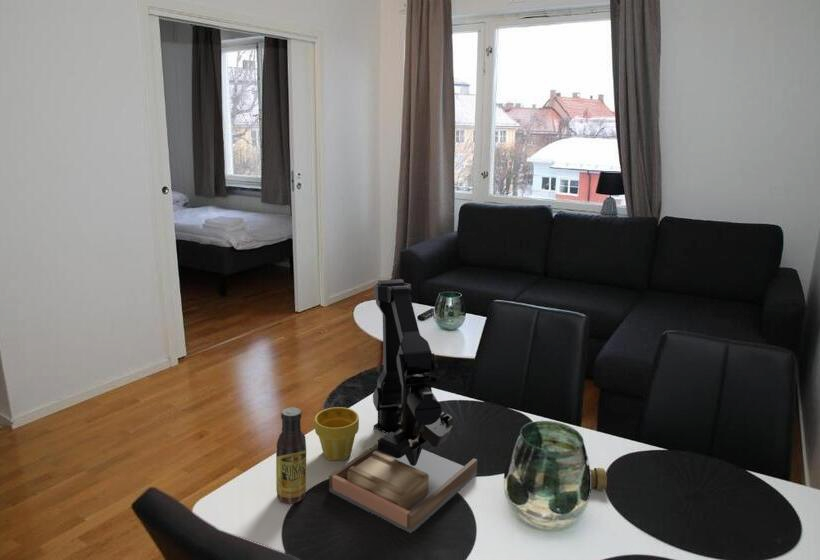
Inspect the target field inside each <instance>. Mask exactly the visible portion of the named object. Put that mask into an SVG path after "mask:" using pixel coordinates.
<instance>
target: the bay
mask: <svg viewBox="0 0 820 560" xmlns="http://www.w3.org/2000/svg"><path fill="white" fill-rule="evenodd" d="M400 432H402V429H400V430H398V431H396V432H395V434H399V433H400ZM375 451H377V452H380V453H382V454H384V455H387V456H389V457H391V458H393V459H396V460H398V461H400V462H403V463H405V464H407V465H409V466H412V465H410V463H409V461H408V459H407V457H406V455H404V456H403V457H401V458H395V457H392V456H390V455H388V454H386V453H384V452H381V451H379V450H378V443H376V444H375V445H374V446H372V447H370V448H369V449H367V450H365V451H364V452H363V453H361V454H359V455H357V457H355V458H353V459H351V460H350V461H348V462H347V463H345V464H344V465H342V466H341V467H340V468H338V469H336V470H335V471H333V472H332V473H330V474H328V491H329V492H330V493H332V494H333V495H335V496H337V497H338V498H341V499H342V500H345V501H347V502H348V503H351V504H352V505H354V506H356V507H359V508H360V509H362V510H364V511H366V512H368V513H370V512H371V513H370V514H372V515H373V514H375V515H377V516H378V517H377V516H376V517H377V518H379V517H381V518H382V519H381V518H380V519H381V520H383V519H384V520H383V521H385V520H386V521H385V522H387V521H388V522H387V523H389V522H390V523H389V524H391V523H392V524H391V525H393V524H394V525H393V526H395V527H397V528H399V529H400V528H401V530H402V529H403V531H404V530H405V531H404V532H406V531H407V533H408V532H409V533H408V534H410V533H412V532H413V531H414V532H415V531H416V530H417V529H419V528H420V527H421V524H422V525H423V524H424V523H425V522H426V521H427V520H428V519H430V516H431V517H432V516H433V515H434V514H435V513H437V511H438V510H440V509H441V508H442V507H443V506H444V505H446V504H447V502H448V501H450V500H451V499H452V498H454V496H455V495H456V494H458V493H459V491H461V490H462V489H463V488H464V487H465V486H467V484H468V483H470V482H471V481H472V480H473V479H474V478H475V477H477V476H478V475H477V473H478V459H476V458H472V459H471V460H470V461H468V462H467V463H466V464H465V465H462V464H460V463H457V462H455V461H453V460H450V459H448V458H445V457H442V456H440V455H437V454H436V453H433V452H430V451H428V450H426V449H424V448H422V450H421V453H420V456H419V459H418V461H417V464H416V465H415V466H412V467H414V468H416V469H419V470H421V471H423V472H425V473H427V474H429V482H428V494H426V495H425V496H424V497H423V498H422V499H420V500H419V501H418V502H417V503H416V504H414V505H413V506H412V507H411V508H410V509H408V510H406V509H404V508H402V507H400V506H398V505H396V504H394V503H392V502H390V501H388V500H386V499H384V498H382V497H380V496H378V495H376V494H374V493H371V492H369V491H367V490H365V489H363V488H361V487H359V486H357V485H355V484H353V483H351V482H349V481H347V472H348V471H349V468H350V467H352V466H354V467H356V466H357V465H359V464H360V463H362V462H363V461H365V460H367V459H368V458H370V457H371V456H372V453H373V452H375ZM375 515H374V516H375ZM414 532H413V533H414ZM413 533H412V534H413Z"/></svg>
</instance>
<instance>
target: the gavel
mask: <svg viewBox="0 0 820 560" xmlns="http://www.w3.org/2000/svg"><path fill="white" fill-rule="evenodd" d="M589 469H590V472H591V488H594V489H595V490H596V491H598V490H599V491H605V490H606V489H607V482H608V481H607V480H608V479H607V478H608V477H607V473H606V472H607V471H606V469H605V468H603V467H594V468H593V469H591V468H589Z"/></svg>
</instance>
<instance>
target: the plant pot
mask: <svg viewBox="0 0 820 560" xmlns="http://www.w3.org/2000/svg"><path fill="white" fill-rule="evenodd" d="M359 426H360V417H359V414H358V412H357V411H355V410H353V409H351V408H348V407H343V406H342V407H341V406H337V407H335V406H334V407H329V408H326V409H322V410H320V411H318V412H317V413H316V415H315V417H314V430H315V434H316V436H318V438H319V442H320V445H321V449H322V454H323V456H324V457H325V458H326V459H327V460H329V461H334V462H335V461H336V462H338V461H343V460H346V459H347V458H349V457H350V456H351V454H352V451H353V447H354V442H355V437H356V435H357V434H358V432H359V428H360V427H359Z"/></svg>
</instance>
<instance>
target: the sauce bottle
mask: <svg viewBox="0 0 820 560" xmlns="http://www.w3.org/2000/svg"><path fill="white" fill-rule="evenodd" d="M280 414H281V415H280V418H281V422H282V423H281V424H282V425H281V426H282V427H281V431H282V432H281V433H280V434H279V437H278V439H277V441H276V455H275V459H276V460H275V461H276V462H275V463H276V464H275V465H276V469H275V471H276V473H275V476H276V477H275V478H276V479H275V481H276V482H275V484H276V485H275V486H276V488H275V489H276V490H275V491H276V497H277V500H278V501H279V502H280V503H283V504H288V505H289V504H296V503H299V502H301V501H302V500H303V499H304V498H305V496H306V491H307V443H306V442H307V441H306V435H305V434H304V433H303V432H302V426H301V419H302V410H301V408H298V407H294V406H292V407H286V408H284V409H282V410H281V413H280Z"/></svg>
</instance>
